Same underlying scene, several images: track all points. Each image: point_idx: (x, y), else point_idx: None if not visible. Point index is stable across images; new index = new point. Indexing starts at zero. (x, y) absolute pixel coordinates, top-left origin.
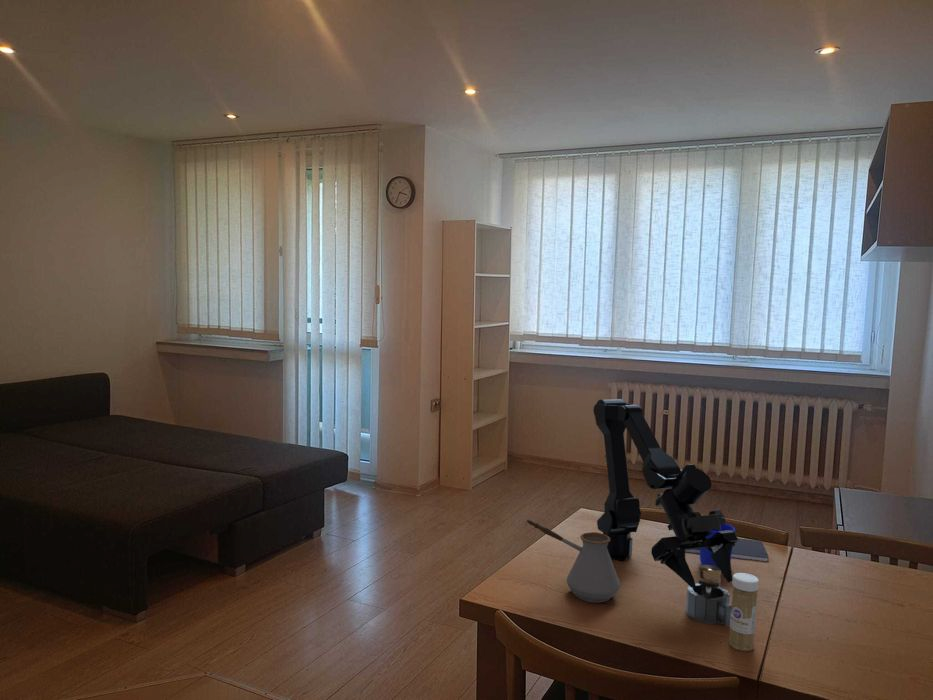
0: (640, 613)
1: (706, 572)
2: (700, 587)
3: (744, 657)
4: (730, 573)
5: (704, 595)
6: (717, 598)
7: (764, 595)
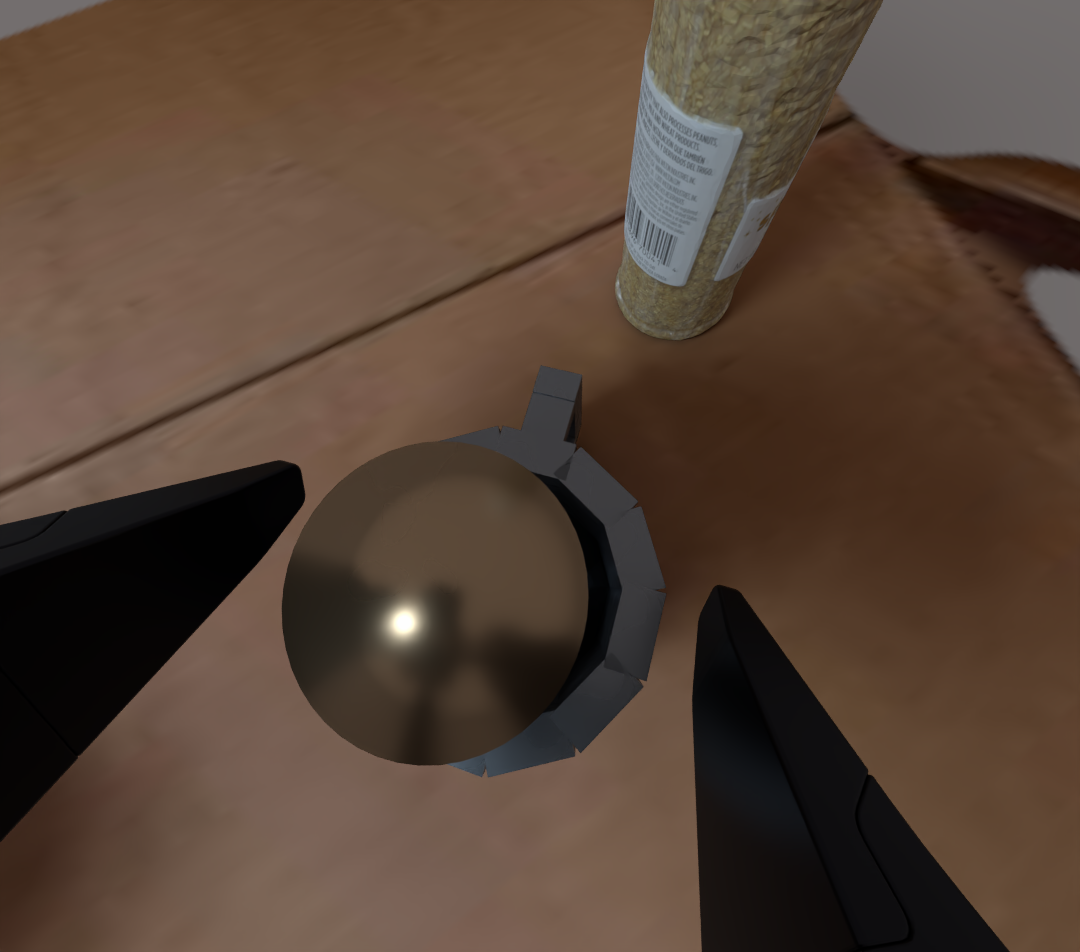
0: None
1: (578, 545)
2: None
3: None
4: (224, 480)
5: None
6: (553, 463)
7: None
